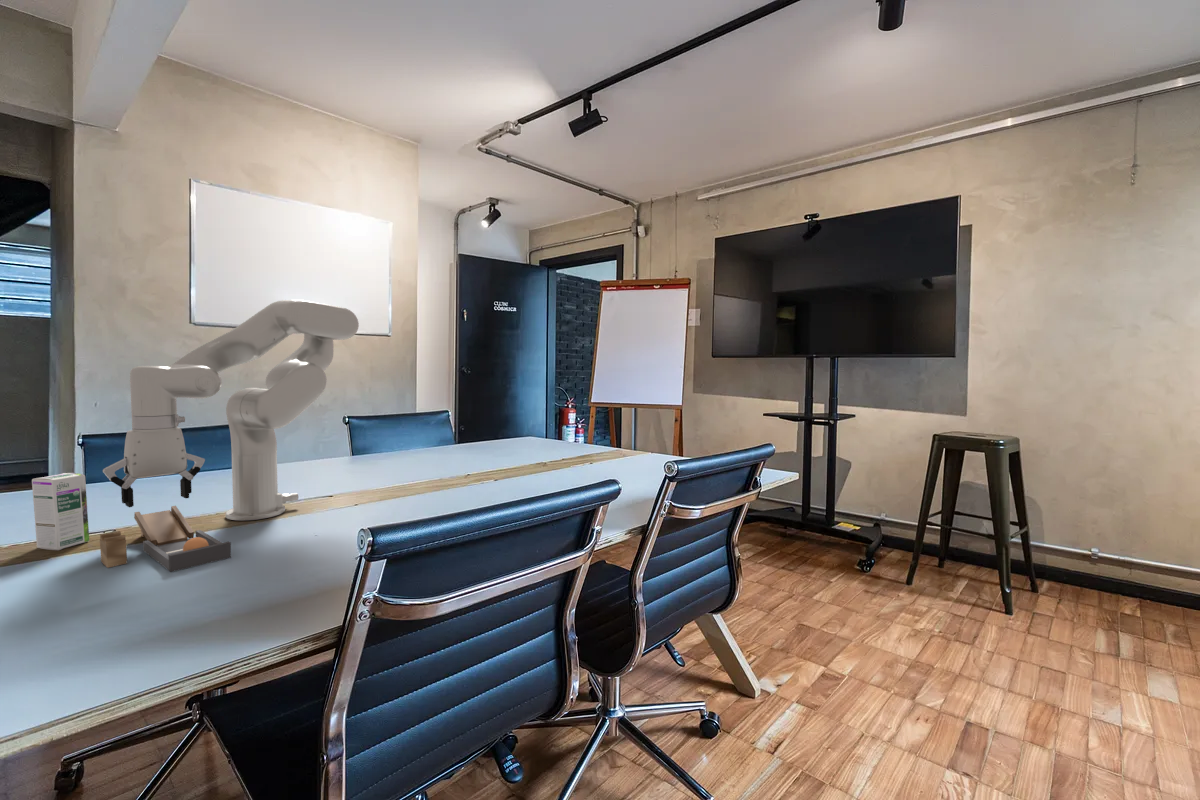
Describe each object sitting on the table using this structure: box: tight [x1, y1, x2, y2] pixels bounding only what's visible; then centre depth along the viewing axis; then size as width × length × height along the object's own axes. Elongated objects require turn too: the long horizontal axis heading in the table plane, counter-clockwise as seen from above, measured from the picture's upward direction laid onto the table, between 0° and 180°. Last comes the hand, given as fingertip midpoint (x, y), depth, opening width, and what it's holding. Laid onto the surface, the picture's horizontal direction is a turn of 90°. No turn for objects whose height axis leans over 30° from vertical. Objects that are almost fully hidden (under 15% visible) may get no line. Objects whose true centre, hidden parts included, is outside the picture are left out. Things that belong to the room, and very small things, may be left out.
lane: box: [142, 529, 232, 573], centre depth 107 cm, size 10×17×3 cm, turn 53°
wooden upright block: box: [99, 531, 128, 569], centre depth 102 cm, size 3×5×5 cm, turn 53°
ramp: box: [133, 505, 195, 546], centre depth 116 cm, size 7×12×6 cm, turn 53°
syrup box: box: [31, 472, 90, 551], centre depth 111 cm, size 6×6×14 cm
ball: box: [183, 536, 209, 551], centre depth 104 cm, size 4×4×4 cm
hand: (158, 501), depth 117 cm, fingers open, 9 cm apart
